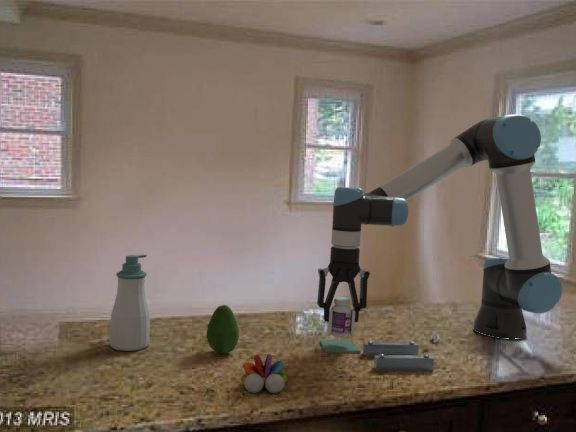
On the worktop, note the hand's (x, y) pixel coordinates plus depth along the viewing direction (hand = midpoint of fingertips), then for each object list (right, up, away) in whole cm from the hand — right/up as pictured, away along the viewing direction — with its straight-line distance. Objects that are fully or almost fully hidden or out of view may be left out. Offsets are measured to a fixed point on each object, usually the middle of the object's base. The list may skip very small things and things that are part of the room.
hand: (340, 333), depth 147 cm
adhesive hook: (+29, -5, +10) cm, 31 cm away
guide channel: (+13, -5, -9) cm, 17 cm away
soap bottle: (-54, -2, -7) cm, 54 cm away
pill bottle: (0, -1, 0) cm, 1 cm away
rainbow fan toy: (-19, -6, -29) cm, 35 cm away
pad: (0, -4, 0) cm, 4 cm away
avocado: (-30, -3, -9) cm, 32 cm away
